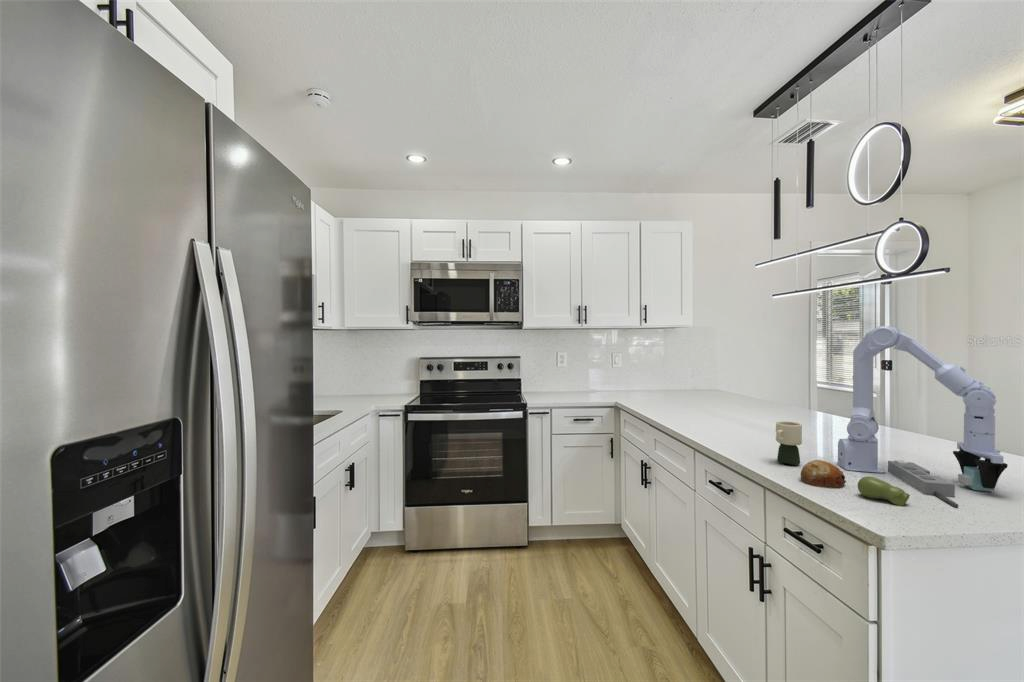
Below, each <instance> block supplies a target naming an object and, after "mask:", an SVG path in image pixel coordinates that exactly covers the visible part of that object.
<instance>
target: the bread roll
mask: <svg viewBox="0 0 1024 682" xmlns="http://www.w3.org/2000/svg"><path fill="white" fill-rule="evenodd" d="M800 479H801V481H802V482H803V483H805V484H807V485H810V486H813V485H814V487H818V488H826V487H828V488H827V489H839V488H838V487H840V488H842V487H843V486H844V485H845V484H846V482H847V480H845V479H846V475H845V474H844V472H843V471H842V470H841V469H840V468H839V467H838V466H836V465H834V464H832V463H830V462H828V461H825V460H821V459H815V460H810V461H808V462H807V463H806V464H804V465H803V467H802V469H801V471H800Z"/></svg>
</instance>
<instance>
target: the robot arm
mask: <svg viewBox="0 0 1024 682" xmlns="http://www.w3.org/2000/svg"><path fill="white" fill-rule="evenodd" d="M890 348H893V349H894V350H898V351H903V352H906V353H909V354H910V355H911V356H913V357H914V358H915V359H917V360H918V361H920V362H921V363H922V364H924V365H925V366H926V367H927V368H929V369H930V370H931V371H933V372H934V379H935V380H936V381H938V382H939V383H940V384H942V385H943V386H944V387H945V388H947V389H948V390H949V391H950V392H952V393H953V394H954V395H955V396H957V397H962V401H963V404H964V407H965V409H964V410H965V412H964V414H963V442H962V441H957V442H956V448H957V450H953V451H952V454H953V456H954V457H955V458H956V460H957V462H958V464H959V467H960V471H961V474H964V466H966V467H978V468H979V472H980V477H981V484H982V487H984V488H991V489H994V490H995V488H996V486H997V483H998V481H999V479H1000V477H1001V474H1002V473H1003V472H1004V471H1005V470H1006V469H1007V468H1008V463H1006V462H1004V455H1001V450H1000V449H998V448H995V447H996V415H994V414H995V413H996V412H995V411H996V409H995V408H994V406H995V405H996V403H997V400H996V399H997V398H996V397H997V396H996V394H995V393H994V391H993V390H991V388H990V387H988V386H985V385H984V384H985V383H984V382H983V381H981V380H980V381H978V380H977V379H975V378H974V377H973V376H971V374H969V373H968V372H966V371H967V369H966V368H965V367H964V366H958V365H957V364H951V363H949V364H947V363H945V362H944V361H943V360H941V359H940V358H939V357H938V356H936V355H935V354H934V353H933V352H932V351H930V350H929V349H927V348H926V347H925V346H924V345H922V344H921V343H920V342H919V341H918V340H916V339H915V338H913V337H912V336H910V335H909V334H907V333H905V332H903V331H900V329H899V328H897V327H894V326H891V325H881V326H877V327H875V328H873V329H871V330H870V331H868V332H866V333H865V335H864V337H863V338H862V339H861V341H859V343H858V344H857V345H856V346H855V348H854V349H853V352H852V410H851V413H850V421H849V422H848V424H847V426H846V432H847V433H848V434H847V435H848V436H847V437H846V438H840V439H838V441H837V461H836V464H837V465H839V466H840V467H842V468H843V469H844V470H846V471H851V472H853V471H854V472H856V471H857V472H867V473H878V474H879V473H880V474H883V473H885V471H884V470H883V469H880V468H879V467H878V466H879V465H878V464H879V458H878V457H879V456H878V455H879V450H878V449H879V442H878V441H879V440H878V438H877V437H876V434H877V433H878V432H879V424H878V422H877V419H876V417H875V415H876V414H875V410H874V358H875V357H876V356H877V355H878V354H880V353H882V352H883V351H884V350H887V349H890Z"/></svg>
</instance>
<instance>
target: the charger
mask: <svg viewBox="0 0 1024 682" xmlns="http://www.w3.org/2000/svg"><path fill="white" fill-rule="evenodd" d="M957 475H958V476H957V482H958V483H961V484H963V486H966V487H967V488H969V489H971V490H974V491H984V492H994V491H995V488H994V489H991V488H984V487H982V484H981V477H980V472H979V468H978V466H977V467H966V466H964V474H962V473H958V474H957Z"/></svg>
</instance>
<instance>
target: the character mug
mask: <svg viewBox="0 0 1024 682" xmlns="http://www.w3.org/2000/svg"><path fill="white" fill-rule="evenodd" d="M802 425H803V424H802V423H801V422H800V423H799V422H793V421H787V420H785V421H776V422H775V434H776V436H775V440H776V441H775V442H777V443H779V445H778V451H777V457H776V458H777V459H776V461H777V462H778V463H783V464H784V465H787V464H788V465H795V466H797V465H798V466H799V465H800V464H801V456H800V452H799V451H800V450H799V446H800V445H802V443H803V442H802V441H803V437H802V436H803V434H802V433H803V426H802Z"/></svg>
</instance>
